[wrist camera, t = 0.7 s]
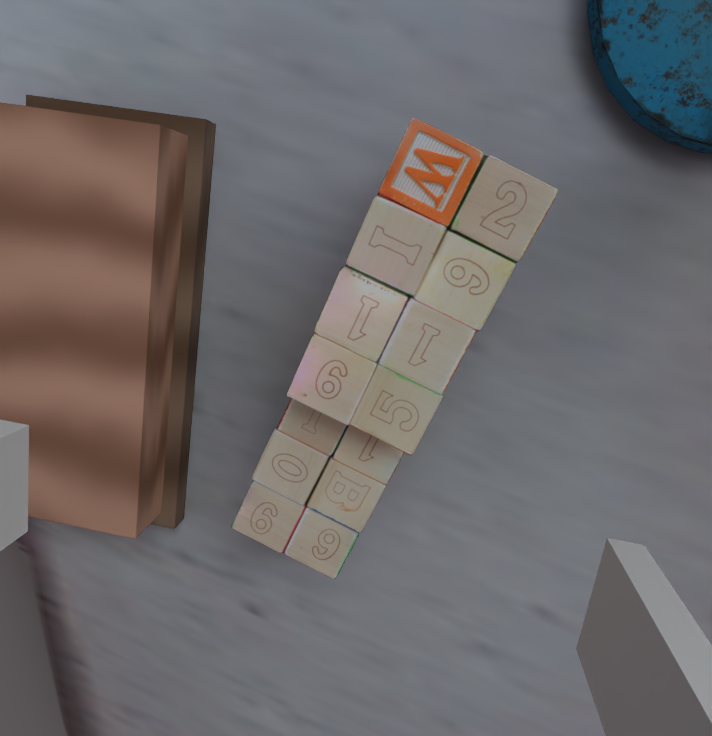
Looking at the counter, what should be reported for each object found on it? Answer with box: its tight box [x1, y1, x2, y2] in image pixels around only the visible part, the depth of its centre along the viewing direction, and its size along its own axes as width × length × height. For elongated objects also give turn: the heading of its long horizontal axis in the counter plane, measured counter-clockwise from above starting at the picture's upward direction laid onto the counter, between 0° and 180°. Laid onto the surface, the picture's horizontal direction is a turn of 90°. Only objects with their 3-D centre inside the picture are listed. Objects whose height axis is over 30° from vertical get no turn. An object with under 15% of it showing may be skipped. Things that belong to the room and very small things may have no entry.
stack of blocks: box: [231, 118, 558, 579], centre depth 30 cm, size 21×6×12 cm, turn 154°
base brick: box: [0, 95, 216, 539], centre depth 36 cm, size 26×11×5 cm, turn 172°
